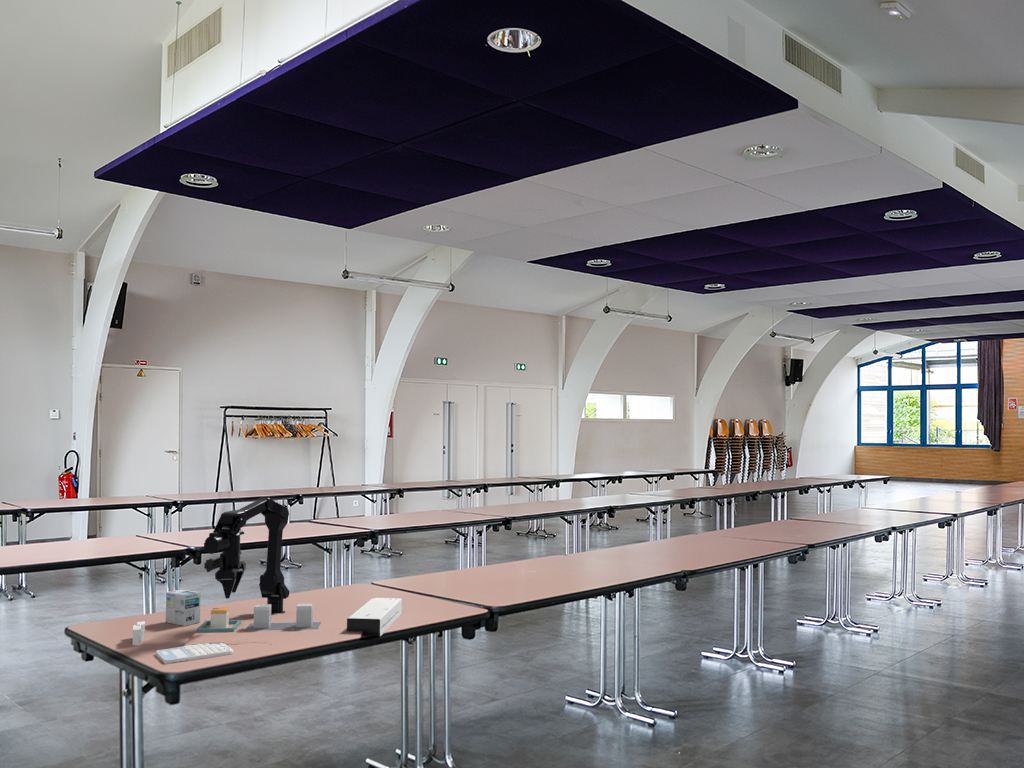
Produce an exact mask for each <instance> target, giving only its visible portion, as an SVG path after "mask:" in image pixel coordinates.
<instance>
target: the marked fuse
mask: <svg viewBox="0 0 1024 768" xmlns="http://www.w3.org/2000/svg"><path fill="white" fill-rule="evenodd" d="M229 620H230V608H229V607H213V608H212V609H211V610H210V621H211V624H210V628H229V625H230V624H229Z"/></svg>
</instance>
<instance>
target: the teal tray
mask: <svg viewBox="0 0 1024 768" xmlns="http://www.w3.org/2000/svg"><path fill="white" fill-rule="evenodd" d="M208 625H211V620H204V622H203V623H202V624H200V625H199V626H198V627H197V628H196V629H195V631H196V633H227V632H228V633H231V632H232V633H233V632H235V631H236V630H237V629H238V628H239V626H241V625H242V619H231V620H230V619H229V625H233V626H232V627H227V628H211V627H207V626H208Z"/></svg>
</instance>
